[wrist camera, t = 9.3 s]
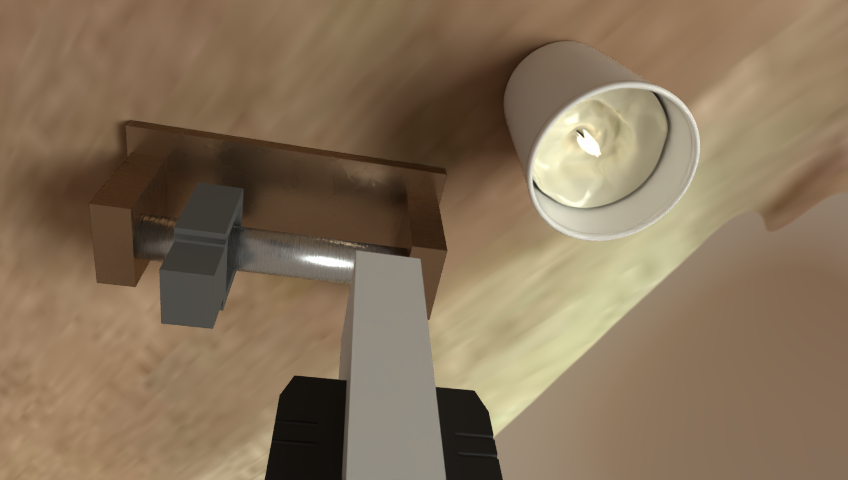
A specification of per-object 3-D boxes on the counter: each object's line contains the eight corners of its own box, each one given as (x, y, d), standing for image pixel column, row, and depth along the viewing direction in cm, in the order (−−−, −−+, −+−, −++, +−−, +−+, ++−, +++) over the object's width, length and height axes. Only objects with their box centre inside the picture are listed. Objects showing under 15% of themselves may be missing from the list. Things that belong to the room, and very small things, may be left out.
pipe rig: (130, 120, 42) (79, 174, 35) (445, 168, 46) (458, 226, 39) (137, 238, 48) (94, 306, 40) (420, 273, 51) (427, 342, 44)
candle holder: (499, 169, 47) (533, 254, 37) (485, 43, 41) (521, 102, 31) (624, 146, 46) (694, 226, 36) (626, 16, 41) (708, 66, 31)
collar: (198, 182, 41) (159, 255, 33) (243, 188, 42) (214, 261, 34) (198, 254, 44) (161, 335, 37) (240, 259, 45) (212, 341, 37)
